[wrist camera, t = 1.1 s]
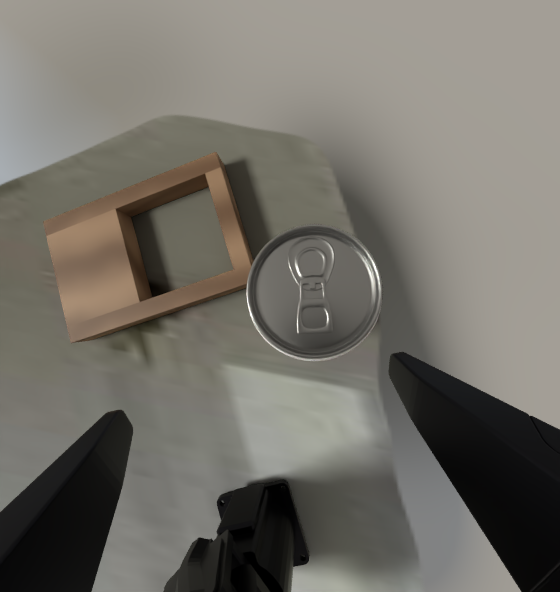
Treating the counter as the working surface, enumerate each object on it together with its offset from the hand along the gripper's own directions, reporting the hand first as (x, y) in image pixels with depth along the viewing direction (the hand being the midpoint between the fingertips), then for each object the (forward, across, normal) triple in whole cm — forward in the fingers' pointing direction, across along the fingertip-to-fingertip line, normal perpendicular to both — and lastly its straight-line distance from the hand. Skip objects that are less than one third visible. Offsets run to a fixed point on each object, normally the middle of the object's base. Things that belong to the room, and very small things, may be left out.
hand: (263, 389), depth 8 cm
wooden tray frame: (+19, +9, 0) cm, 21 cm away
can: (+13, -5, +5) cm, 15 cm away
